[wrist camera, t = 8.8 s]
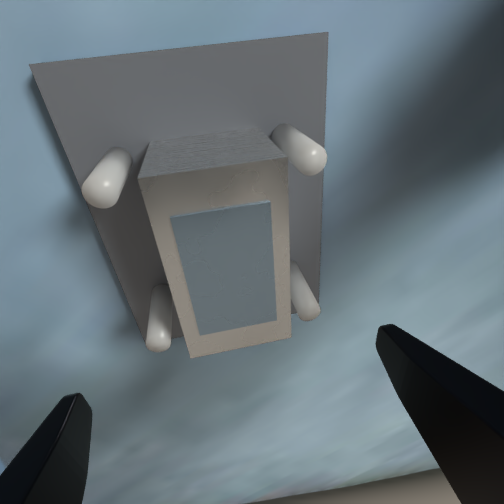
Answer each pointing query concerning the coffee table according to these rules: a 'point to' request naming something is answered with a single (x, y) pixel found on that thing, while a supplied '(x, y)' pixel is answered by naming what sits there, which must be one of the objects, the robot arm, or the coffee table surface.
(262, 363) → the coffee table surface
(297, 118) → the pegged base plate
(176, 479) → the coffee table surface
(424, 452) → the coffee table surface
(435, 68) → the coffee table surface
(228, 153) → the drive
